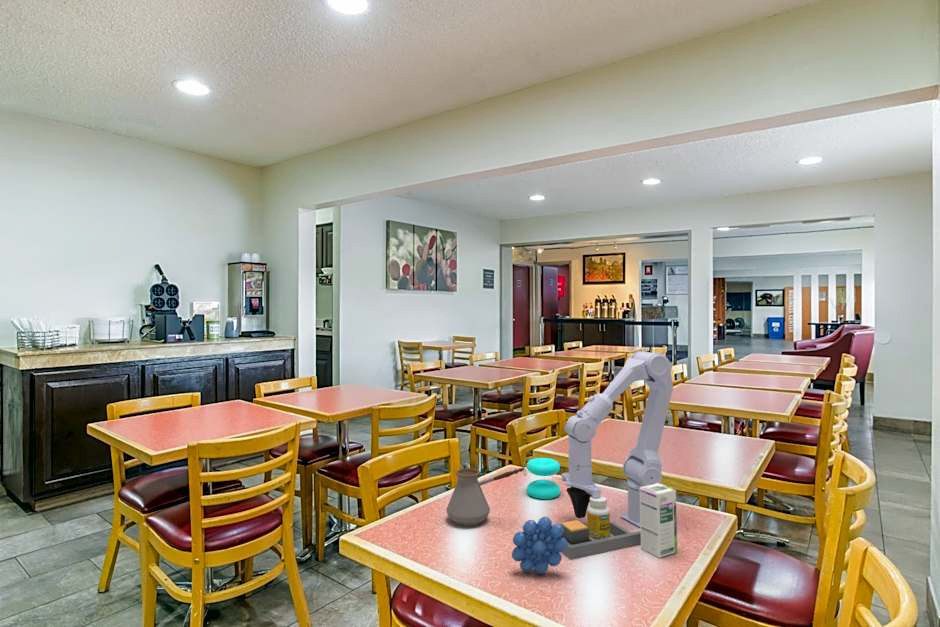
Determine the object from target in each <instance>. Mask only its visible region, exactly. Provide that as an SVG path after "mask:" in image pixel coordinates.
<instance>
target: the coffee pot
mask: <svg viewBox="0 0 940 627" xmlns="http://www.w3.org/2000/svg"><path fill="white" fill-rule="evenodd" d="M526 470H527V469H525V467H520V468H518V469H516V468H514V470H510V471H506V472H504V473H501V474H498V475H496V476H493V477H492V478H488V479H485V480H482V481H479V480H478V478H479V475H480V474H481V471H480V470H479V469H477V468H472V467H469V468H467V467H466V468H459V469H457V470H456V471H455V475H456V476H457V481H456V485H455V487H454V490H453V492H452V495H451V497H450V499H449V502H448V504H447V507H446V514H447V515H448V517H449V518H450V519H451V521H453V523H454V524H456V525H458V524H459V526H462V525H466V526H465V527H472V526H471V525H474V526H478V525H480V524H482V523H483V521H484V520H485V519H487V517H488V516H489V514H490V512H491V508H490V505H489V504H488V501H487V498H486V497H485V493H484V492H483V489H482V487H481V486H484V485H485V484H486V485H487V484H489V483H491V482H494V481H498V480H502V479H505V478H506V479H507V478H509V477H510V476H511V477H512V476H513V475H518V474H519V473H523V475H524V476H525V477H527V474H528V473H527V471H526ZM481 522H482V523H481ZM479 523H480V524H479ZM477 524H478V525H477Z"/></svg>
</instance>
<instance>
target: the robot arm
mask: <svg viewBox="0 0 940 627" xmlns="http://www.w3.org/2000/svg"><path fill="white" fill-rule="evenodd" d="M672 370H673V363H671V361H670V359H668V357H667V356H666V355H665V354H663V353H661V352H655V353H654V352H648V351H645V350H637V351H635V352H634V353H633V354H632V355H631V356H630V357H629V358H628V359H626V361H625V362H624V366H623V367H622V369H620V371H619V372H618V373H617V374H616V376H615V377H614V378H613V380H612V381H610V384H608V386H607V387H606V388H605V389H604V391H603V392H602V393H595V394H594V395H590V396H589V398H588V399H587V400H588V402H586V404H585V405H584V406H583V407H581V409H580V410H579V409H578V410H577V412H576V414H575V415H572V416H570V417H569V418H568V419H567V420H566V424H565V425H564V431H565V434H567V436H568V472H562V473H561V482H565V484H564V485H565V486H566V487H568V488H566V492H567V493H568V494H567V495H568V496H569V499H570V502H571V504H572V508H573V512H574V515H575V517H576V518H578V519H583V518H586V517H587V508H588V506H589V505H590V497H593V498H599V497H601V496H602V494H601V493H602V492H601V491H602V490H601V488H599V487H598V486H597V485H596V484H595V482H593V478H592V477H593V476H592V468H593V466H592V439H593V438H595V437H596V433H597V427H598V426H599V425H600V424H601V423H602V422H603V420H605V418H606V417H607V416H608V415H609V414H610V413H611V412H612V411H613V409H614V407H613V406H614V404H613V403H614V402H615V401H616V400H617V399H618V397H620V396H621V395H622V394H623V393H624V392H625V391H626V390H627V389H628V388H629V387H630V386H631V385H632V384H633V383H634V382H638V381H644V383H645V384H646V386H648V389H649V393H648V397H647V399H646V404H645V409H644V413H643V417H642V419H641V420H642V421H641V424H640V429H639V434H638V436H637V441H636V442H637V443H636V445H635V446H634V447H633V448H632V449H631V450H629V452H628V453H629V454H628V456H627V458H626V459H625V460H624V461H623V462H624V463H623V464H622V472H623V475H624V476H625V478H627V480H626V482H627V513H624V514H623V513H622V514H620V517H621V518H623V519H624V520H626V521H628V522H630V523H632V524H633V525H635V526H636V527H638V528H640V487H644V486H648V485H653V484H656V483H659V484H662V480H663V474H662V466H663V462H662V460H661V458H660V454H659V449H660V444H661V441H662V436H663V432H664V428H665V424H666V419H667V415H668V411H669V407H670V403H671V398H672V394H673V390H674V383H673V378H672Z"/></svg>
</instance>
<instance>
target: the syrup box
mask: <svg viewBox="0 0 940 627" xmlns="http://www.w3.org/2000/svg"><path fill="white" fill-rule="evenodd" d="M677 521H678V520H677V490H676V489H675V488H673V487H671V486H668V485H665V484H663V483H660V484H659V483H656V484H653V485H648V486H644V487H640V527H639V528H640V530H639V531H641V544H640V548H641V549H642V550H643V551H644V552H647V553H648V554H651V555H653V557H654V556H655V557H656V558H658V559H661V558H662V557H666V556H669V555H673V554H677V553H678V530H677V529H678V528H677V527H678V526H677V525H678V524H677Z"/></svg>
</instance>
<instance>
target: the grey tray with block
mask: <svg viewBox="0 0 940 627" xmlns="http://www.w3.org/2000/svg"><path fill="white" fill-rule="evenodd" d="M560 524H561V525H562V526H563V528H564V532H563V534H562V536H561V537H564V538H565V539H566V540H567V543H568V545H567V548H566V550H565V551H563V552H561V553H562V554H563V555H564V556H566V557H567V558H568V559H570V560H574V559H579V558H583V557H589V556H593V555H597V554H601V553H607V552H611V551H615V550H619V549H625V548H628V547H633V546H638V545H639V546H640V545H641V531H640V530H638V531H634V532H631V531H629V530H628V529H626V528H624V527H622V526H621V525H619V524H617V523H616V522H614V521H610V535H613V536H610V537H608V538H604V539H599V540H595V539H594V538H592V537H591V536H589V529H588V527H587V525H586V524H584V523H582V522H581V521H579V520H577V519H576V520H571V521H570V520H569V521H565V522H561V523H560Z"/></svg>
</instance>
